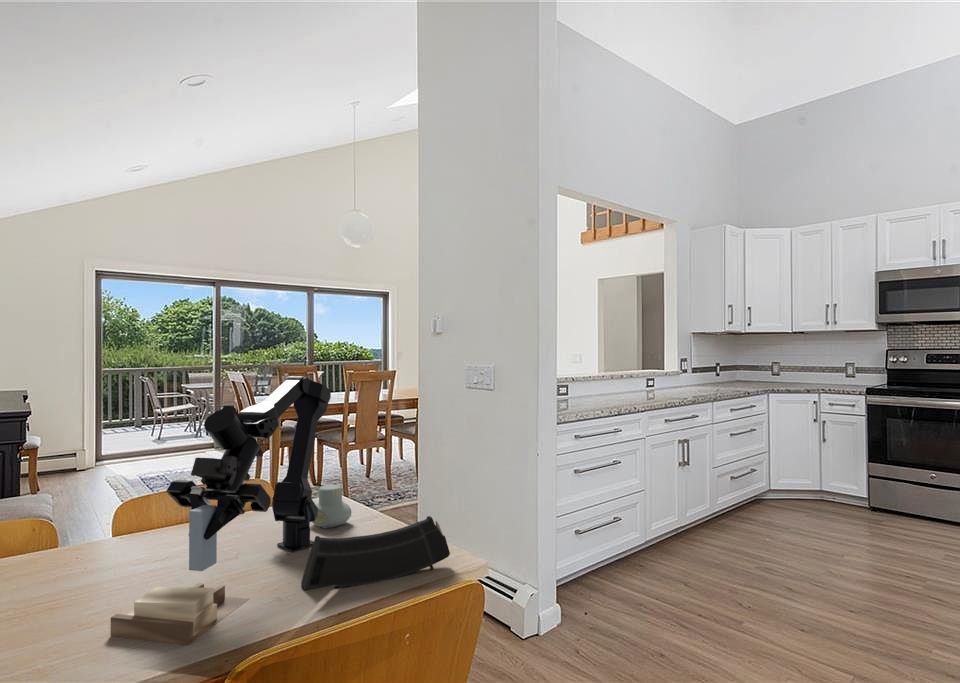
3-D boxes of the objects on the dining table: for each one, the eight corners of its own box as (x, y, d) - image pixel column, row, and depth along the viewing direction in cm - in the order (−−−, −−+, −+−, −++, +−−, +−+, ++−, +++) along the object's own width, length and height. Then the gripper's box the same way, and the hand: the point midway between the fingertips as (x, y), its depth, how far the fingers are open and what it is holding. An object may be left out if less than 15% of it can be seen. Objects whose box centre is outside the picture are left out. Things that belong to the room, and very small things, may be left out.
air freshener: (356, 523, 153) (356, 486, 153) (333, 532, 146) (333, 493, 146) (327, 517, 159) (327, 481, 159) (303, 525, 152) (304, 487, 152)
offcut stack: (156, 611, 100) (157, 582, 100) (218, 617, 98) (218, 588, 98) (123, 632, 93) (123, 601, 93) (188, 639, 91) (189, 607, 91)
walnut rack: (182, 597, 108) (182, 576, 108) (249, 604, 105) (249, 582, 105) (110, 642, 92) (110, 617, 92) (187, 651, 89) (188, 625, 89)
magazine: (290, 551, 108) (432, 487, 121) (287, 545, 111) (426, 484, 124) (317, 632, 110) (453, 561, 123) (313, 625, 113) (447, 556, 126)
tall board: (203, 561, 106) (204, 504, 106) (216, 562, 105) (216, 505, 105) (189, 570, 102) (189, 511, 102) (202, 571, 101) (202, 511, 101)
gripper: (173, 437, 109) (127, 512, 98) (262, 440, 106) (225, 518, 95) (200, 470, 117) (160, 542, 106) (284, 474, 113) (252, 549, 102)
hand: (197, 538), depth 102 cm, fingers closed on tall board, 3 cm apart
